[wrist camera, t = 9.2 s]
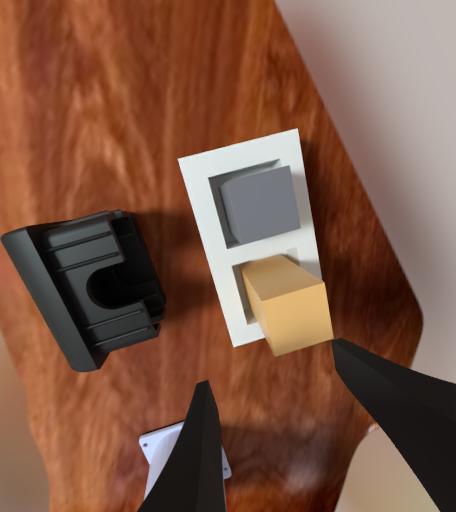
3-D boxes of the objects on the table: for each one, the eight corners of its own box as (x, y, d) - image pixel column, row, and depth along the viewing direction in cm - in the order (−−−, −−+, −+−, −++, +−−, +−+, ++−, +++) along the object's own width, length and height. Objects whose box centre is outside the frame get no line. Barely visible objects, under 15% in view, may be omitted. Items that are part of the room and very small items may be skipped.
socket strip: (312, 303, 24) (352, 339, 17) (229, 329, 23) (240, 375, 17) (282, 139, 20) (321, 110, 13) (181, 165, 19) (172, 148, 13)
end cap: (47, 228, 19) (-33, 242, 12) (130, 204, 19) (95, 206, 13) (97, 330, 22) (52, 386, 15) (169, 307, 22) (157, 352, 15)
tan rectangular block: (287, 291, 22) (333, 338, 15) (248, 303, 22) (275, 356, 15) (279, 253, 21) (324, 282, 14) (238, 265, 21) (261, 301, 14)
